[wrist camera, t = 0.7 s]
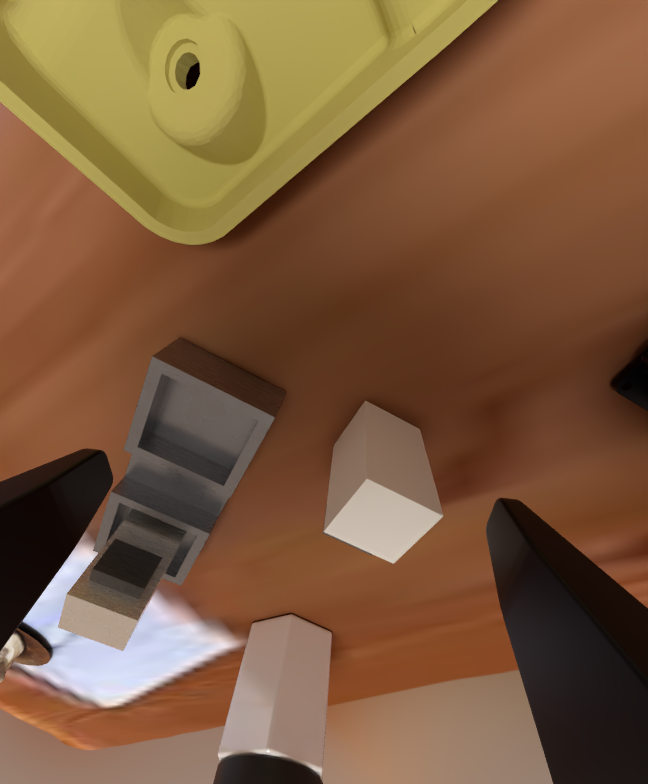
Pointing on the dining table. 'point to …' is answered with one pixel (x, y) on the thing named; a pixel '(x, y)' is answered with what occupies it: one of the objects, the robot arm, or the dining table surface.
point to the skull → (22, 652)
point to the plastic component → (209, 91)
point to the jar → (278, 706)
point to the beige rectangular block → (380, 486)
